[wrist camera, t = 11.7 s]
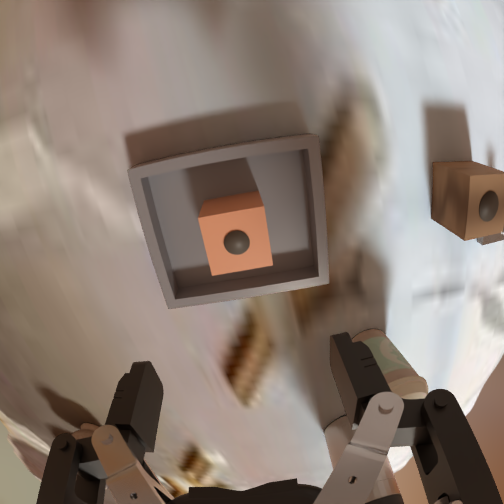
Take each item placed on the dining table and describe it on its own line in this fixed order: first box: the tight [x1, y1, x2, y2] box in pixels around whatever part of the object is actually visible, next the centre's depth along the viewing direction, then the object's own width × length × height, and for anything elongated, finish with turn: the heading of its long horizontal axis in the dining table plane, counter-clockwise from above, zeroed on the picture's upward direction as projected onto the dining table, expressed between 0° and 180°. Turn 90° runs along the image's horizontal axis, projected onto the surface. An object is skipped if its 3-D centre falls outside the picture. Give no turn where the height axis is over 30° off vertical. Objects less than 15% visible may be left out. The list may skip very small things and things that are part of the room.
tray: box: [127, 134, 329, 309], centre depth 27 cm, size 14×16×3 cm
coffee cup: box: [352, 329, 428, 399], centre depth 32 cm, size 9×9×12 cm
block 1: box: [198, 191, 273, 276], centre depth 26 cm, size 5×5×5 cm
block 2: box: [431, 161, 504, 241], centre depth 26 cm, size 6×6×7 cm
